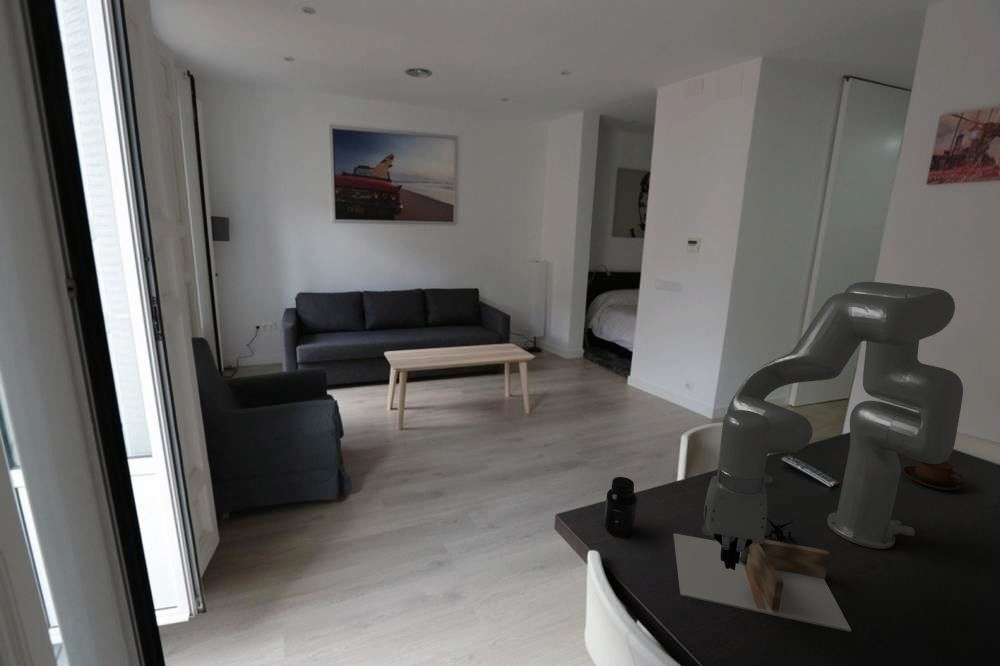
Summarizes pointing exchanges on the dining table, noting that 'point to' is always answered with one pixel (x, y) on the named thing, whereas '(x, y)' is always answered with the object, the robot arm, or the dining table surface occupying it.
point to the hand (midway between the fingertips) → (728, 564)
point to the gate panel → (765, 576)
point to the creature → (779, 532)
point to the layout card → (751, 586)
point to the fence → (793, 558)
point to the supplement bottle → (621, 508)
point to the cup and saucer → (934, 475)
